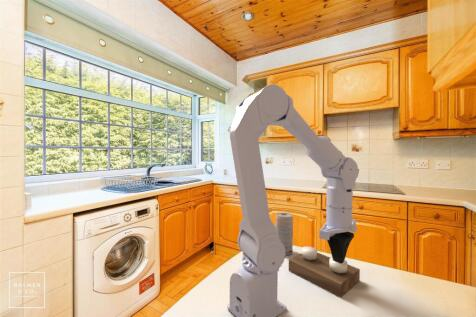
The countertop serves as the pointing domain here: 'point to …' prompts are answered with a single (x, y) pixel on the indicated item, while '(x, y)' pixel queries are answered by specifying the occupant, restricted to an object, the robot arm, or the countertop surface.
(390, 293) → the countertop surface
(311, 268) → the block
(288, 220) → the energy drink
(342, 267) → the knob near
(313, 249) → the knob far
